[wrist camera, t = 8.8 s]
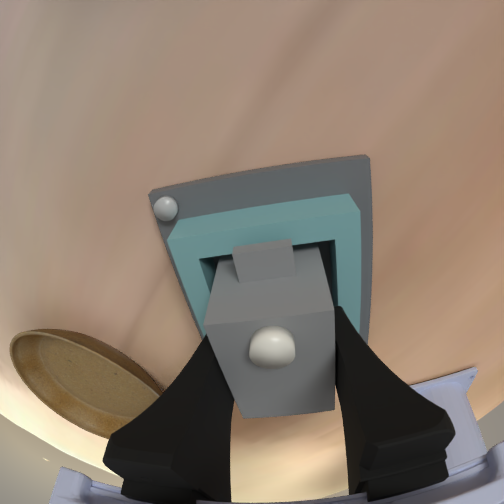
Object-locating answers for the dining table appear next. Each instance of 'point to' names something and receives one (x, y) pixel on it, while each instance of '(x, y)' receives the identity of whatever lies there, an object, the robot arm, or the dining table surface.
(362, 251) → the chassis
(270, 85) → the dining table surface
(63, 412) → the plant saucer
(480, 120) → the dining table surface
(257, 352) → the block
